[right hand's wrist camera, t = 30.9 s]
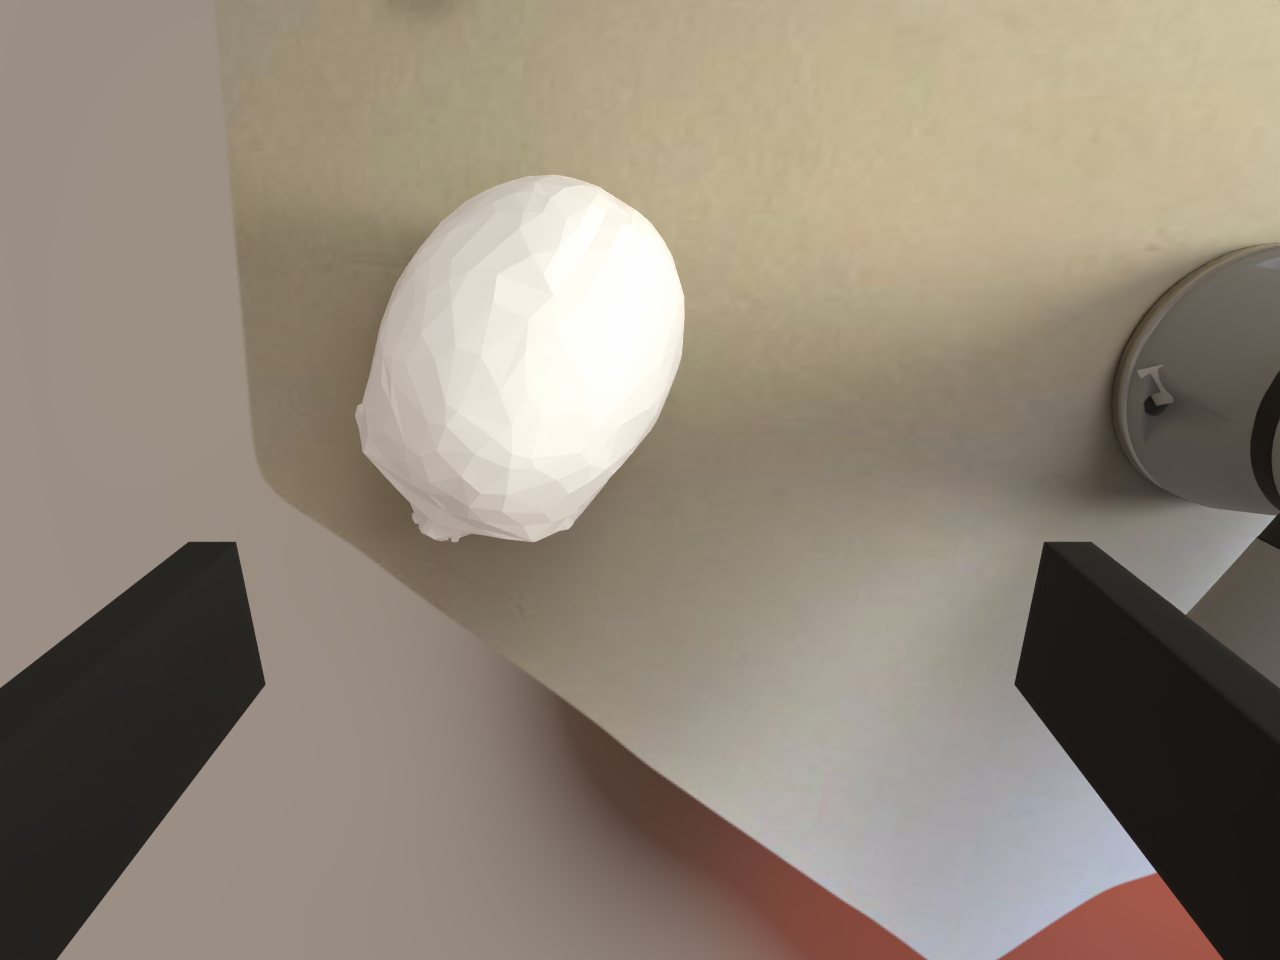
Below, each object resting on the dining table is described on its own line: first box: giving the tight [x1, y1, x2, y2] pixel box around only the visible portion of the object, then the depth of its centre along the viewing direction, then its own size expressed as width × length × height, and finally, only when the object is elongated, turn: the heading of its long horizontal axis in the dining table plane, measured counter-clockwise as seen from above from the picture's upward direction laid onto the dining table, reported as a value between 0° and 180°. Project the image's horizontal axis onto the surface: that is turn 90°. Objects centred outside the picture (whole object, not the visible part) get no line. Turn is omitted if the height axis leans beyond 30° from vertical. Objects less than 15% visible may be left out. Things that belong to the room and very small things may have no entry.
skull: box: [355, 175, 684, 542], centre depth 37 cm, size 13×22×16 cm, turn 153°
